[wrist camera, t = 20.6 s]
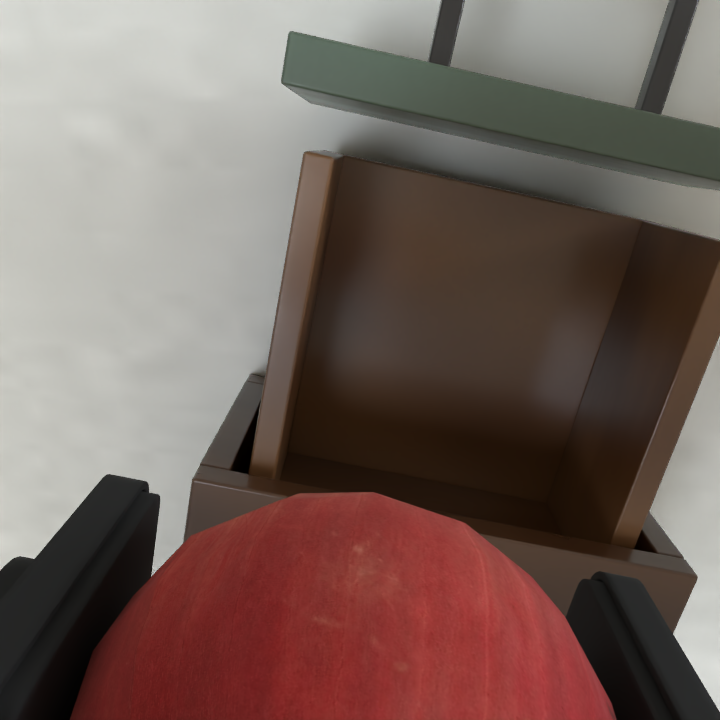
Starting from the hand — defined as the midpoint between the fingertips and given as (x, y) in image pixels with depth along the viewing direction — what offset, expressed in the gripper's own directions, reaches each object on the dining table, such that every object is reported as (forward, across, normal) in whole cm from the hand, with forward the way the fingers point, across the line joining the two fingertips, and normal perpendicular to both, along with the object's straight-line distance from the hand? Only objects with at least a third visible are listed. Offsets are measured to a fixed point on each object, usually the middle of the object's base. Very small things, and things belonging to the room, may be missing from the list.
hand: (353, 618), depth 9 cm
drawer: (+16, -3, -4) cm, 17 cm away
